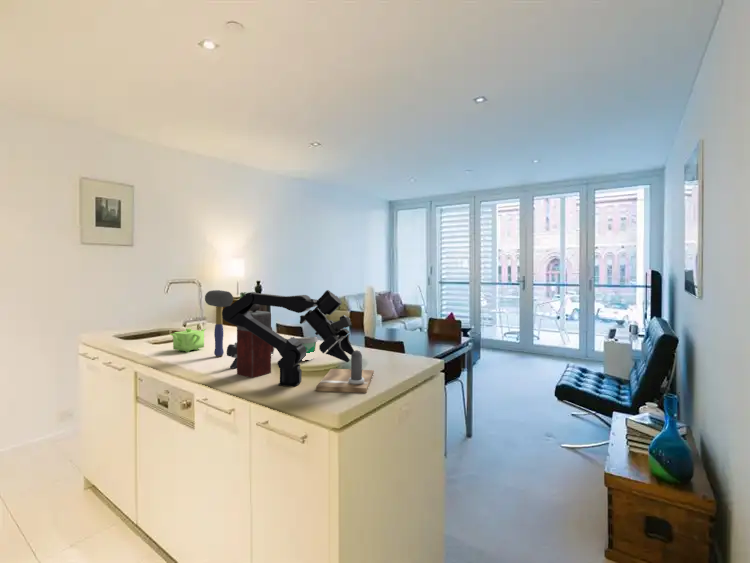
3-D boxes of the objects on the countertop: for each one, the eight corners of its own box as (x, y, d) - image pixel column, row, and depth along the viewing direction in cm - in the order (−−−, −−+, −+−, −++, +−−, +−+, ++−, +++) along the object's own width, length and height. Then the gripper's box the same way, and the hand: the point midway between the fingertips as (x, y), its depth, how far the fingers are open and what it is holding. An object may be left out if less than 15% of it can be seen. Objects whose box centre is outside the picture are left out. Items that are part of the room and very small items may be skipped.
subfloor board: (316, 390, 127) (316, 385, 127) (331, 372, 150) (331, 368, 150) (366, 392, 125) (366, 387, 125) (373, 374, 148) (373, 369, 148)
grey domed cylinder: (345, 382, 130) (345, 350, 130) (354, 379, 135) (354, 348, 134) (358, 385, 127) (358, 352, 127) (367, 381, 132) (367, 350, 132)
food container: (290, 362, 166) (290, 339, 165) (289, 359, 171) (289, 336, 171) (319, 361, 169) (319, 338, 169) (317, 358, 175) (317, 335, 175)
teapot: (169, 354, 180) (169, 331, 180) (172, 349, 192) (172, 327, 192) (205, 352, 186) (205, 329, 185) (206, 346, 198) (206, 326, 198)
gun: (222, 367, 152) (226, 341, 153) (267, 368, 173) (271, 345, 175) (226, 368, 150) (231, 342, 152) (272, 369, 172) (275, 346, 174)
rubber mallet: (234, 356, 176) (234, 290, 175) (219, 359, 169) (219, 291, 169) (218, 353, 183) (218, 289, 182) (203, 356, 177) (203, 290, 176)
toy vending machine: (275, 371, 151) (276, 299, 150) (252, 377, 141) (252, 300, 141) (260, 368, 156) (260, 298, 155) (236, 374, 146) (236, 299, 146)
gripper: (329, 310, 122) (363, 347, 121) (344, 305, 141) (373, 337, 139) (305, 334, 124) (338, 371, 122) (322, 326, 142) (351, 358, 141)
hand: (351, 358), depth 131 cm, fingers open, 9 cm apart
